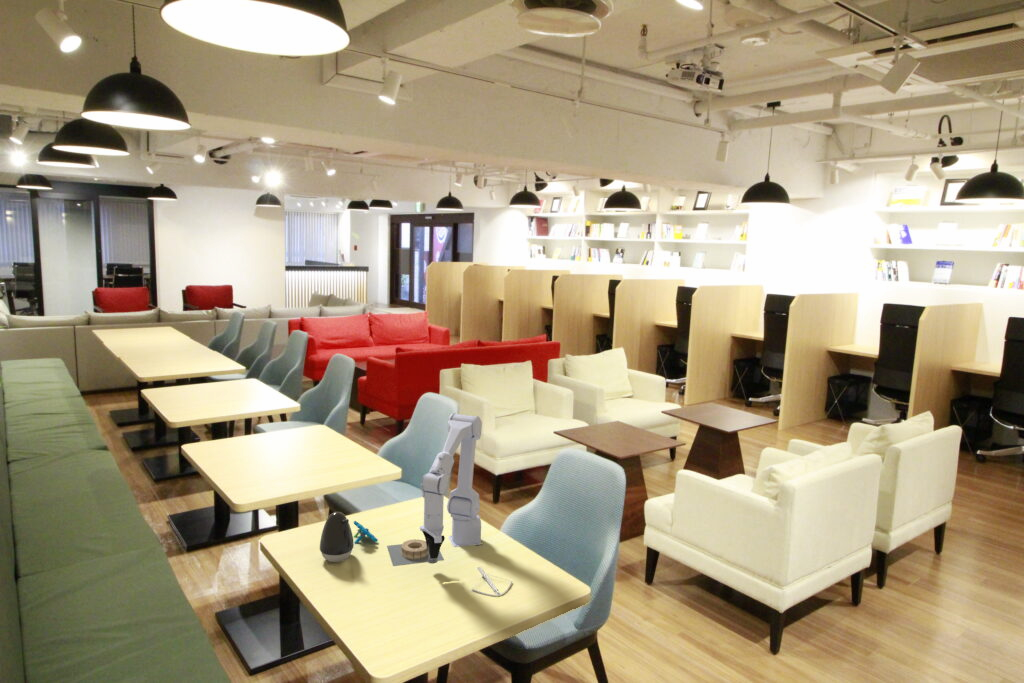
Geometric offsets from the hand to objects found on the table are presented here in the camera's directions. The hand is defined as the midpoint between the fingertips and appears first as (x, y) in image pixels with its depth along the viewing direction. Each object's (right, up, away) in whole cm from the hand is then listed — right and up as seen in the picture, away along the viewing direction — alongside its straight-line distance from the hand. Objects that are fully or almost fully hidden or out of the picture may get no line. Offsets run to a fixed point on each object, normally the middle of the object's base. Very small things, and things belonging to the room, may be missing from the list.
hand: (432, 555), depth 196 cm
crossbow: (+17, -8, -4) cm, 19 cm away
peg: (0, -2, 0) cm, 2 cm away
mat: (-7, -4, +12) cm, 14 cm away
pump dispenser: (-31, -4, +7) cm, 32 cm away
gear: (-25, -2, +20) cm, 32 cm away
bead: (-7, -3, +12) cm, 14 cm away
